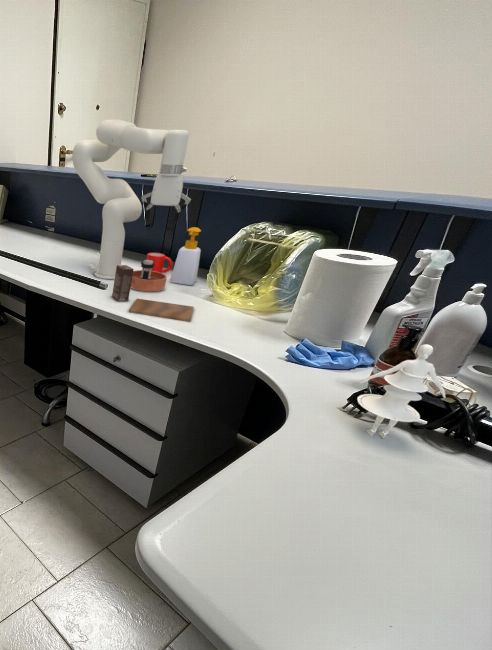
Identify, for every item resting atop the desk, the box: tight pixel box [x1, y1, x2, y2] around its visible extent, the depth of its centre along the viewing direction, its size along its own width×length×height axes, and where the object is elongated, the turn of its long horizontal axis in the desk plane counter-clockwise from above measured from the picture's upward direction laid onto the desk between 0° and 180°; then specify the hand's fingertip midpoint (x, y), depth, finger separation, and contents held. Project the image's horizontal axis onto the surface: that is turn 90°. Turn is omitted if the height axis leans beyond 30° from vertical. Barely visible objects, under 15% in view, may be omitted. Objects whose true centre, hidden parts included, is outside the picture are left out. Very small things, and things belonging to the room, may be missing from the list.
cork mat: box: [128, 298, 194, 322], centre depth 143 cm, size 20×14×1 cm
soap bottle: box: [169, 226, 202, 286], centre depth 167 cm, size 10×14×22 cm
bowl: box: [130, 269, 168, 293], centre depth 166 cm, size 15×15×5 cm
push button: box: [140, 259, 155, 280], centre depth 164 cm, size 7×5×10 cm
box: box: [111, 264, 135, 302], centre depth 151 cm, size 6×4×12 cm
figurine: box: [356, 343, 446, 440], centre depth 77 cm, size 13×10×20 cm
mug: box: [145, 252, 173, 274], centre depth 185 cm, size 8×12×8 cm, turn 57°
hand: (161, 222), depth 152 cm, fingers open, 9 cm apart
